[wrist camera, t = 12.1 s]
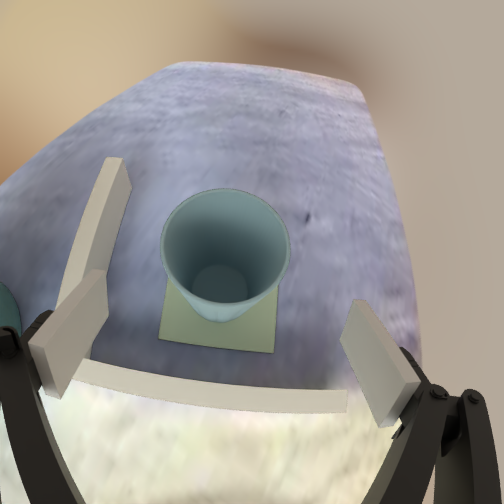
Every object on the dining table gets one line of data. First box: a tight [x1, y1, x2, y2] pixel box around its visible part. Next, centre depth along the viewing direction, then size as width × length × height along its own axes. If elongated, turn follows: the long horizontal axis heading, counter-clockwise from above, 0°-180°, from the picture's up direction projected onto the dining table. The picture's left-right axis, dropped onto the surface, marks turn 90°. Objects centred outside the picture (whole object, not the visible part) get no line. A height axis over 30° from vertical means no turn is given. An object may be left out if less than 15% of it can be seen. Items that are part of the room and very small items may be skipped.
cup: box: [160, 188, 291, 323], centre depth 23 cm, size 8×8×10 cm
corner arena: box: [55, 157, 348, 413], centre depth 25 cm, size 23×20×5 cm
